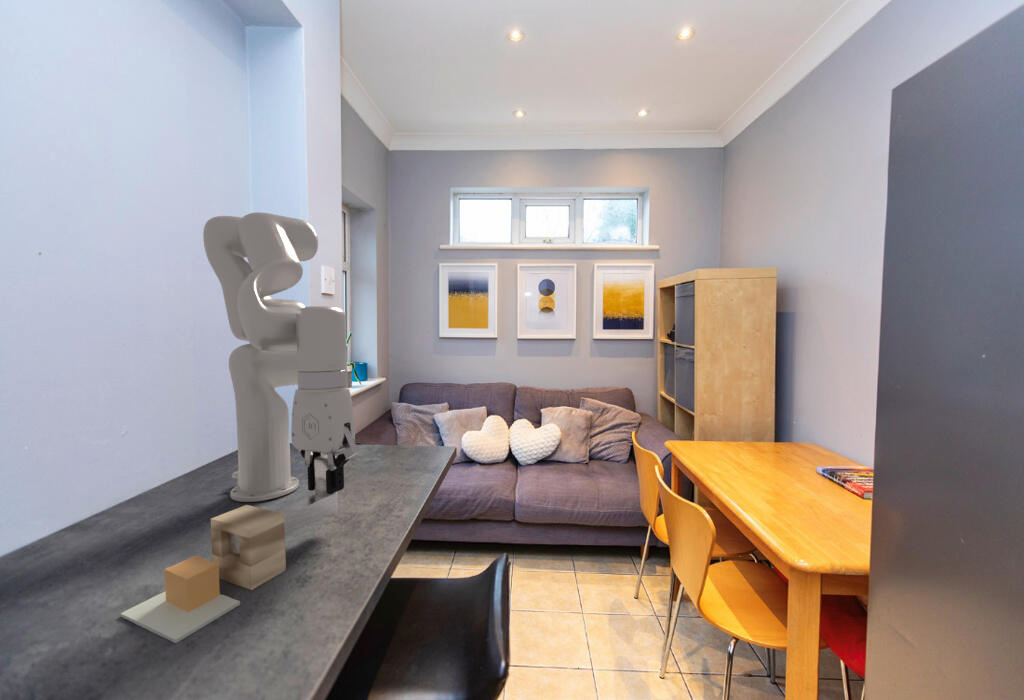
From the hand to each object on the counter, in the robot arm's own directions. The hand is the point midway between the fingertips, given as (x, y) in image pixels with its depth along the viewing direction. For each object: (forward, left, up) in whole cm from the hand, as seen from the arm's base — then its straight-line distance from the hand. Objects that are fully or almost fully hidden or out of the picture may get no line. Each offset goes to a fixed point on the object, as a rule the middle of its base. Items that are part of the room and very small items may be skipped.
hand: (326, 488), depth 70 cm
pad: (0, -22, -7) cm, 23 cm away
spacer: (-1, -19, -5) cm, 19 cm away
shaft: (0, -7, -4) cm, 8 cm away
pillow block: (0, -14, -7) cm, 15 cm away
